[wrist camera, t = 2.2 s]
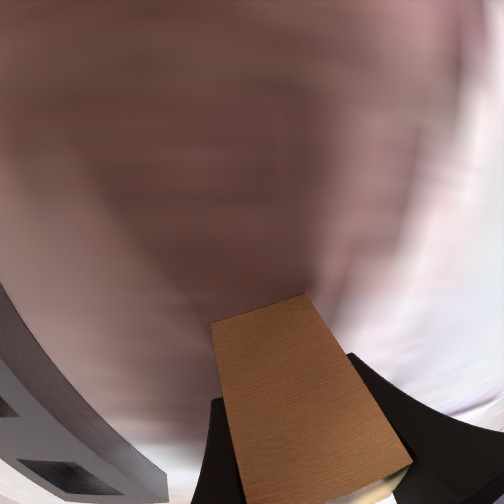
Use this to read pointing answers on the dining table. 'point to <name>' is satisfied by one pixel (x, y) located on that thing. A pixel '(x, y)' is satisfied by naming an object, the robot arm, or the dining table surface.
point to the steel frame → (63, 430)
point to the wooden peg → (302, 411)
